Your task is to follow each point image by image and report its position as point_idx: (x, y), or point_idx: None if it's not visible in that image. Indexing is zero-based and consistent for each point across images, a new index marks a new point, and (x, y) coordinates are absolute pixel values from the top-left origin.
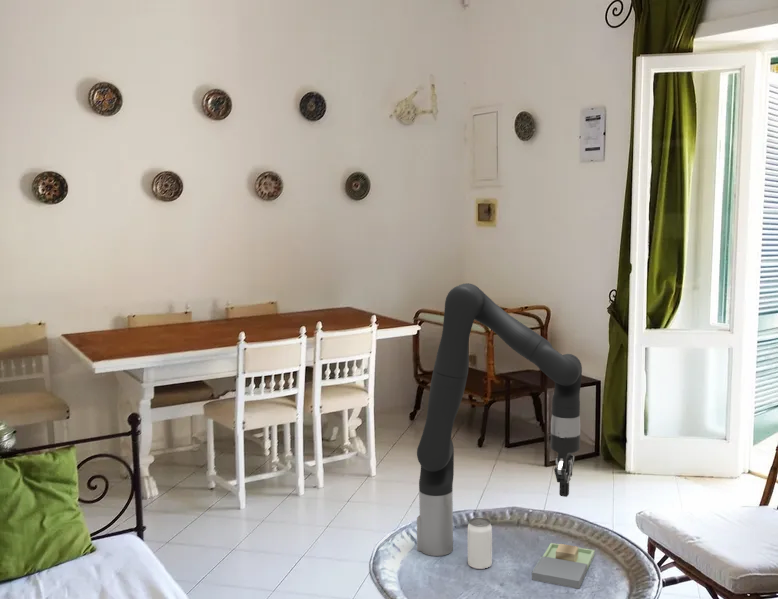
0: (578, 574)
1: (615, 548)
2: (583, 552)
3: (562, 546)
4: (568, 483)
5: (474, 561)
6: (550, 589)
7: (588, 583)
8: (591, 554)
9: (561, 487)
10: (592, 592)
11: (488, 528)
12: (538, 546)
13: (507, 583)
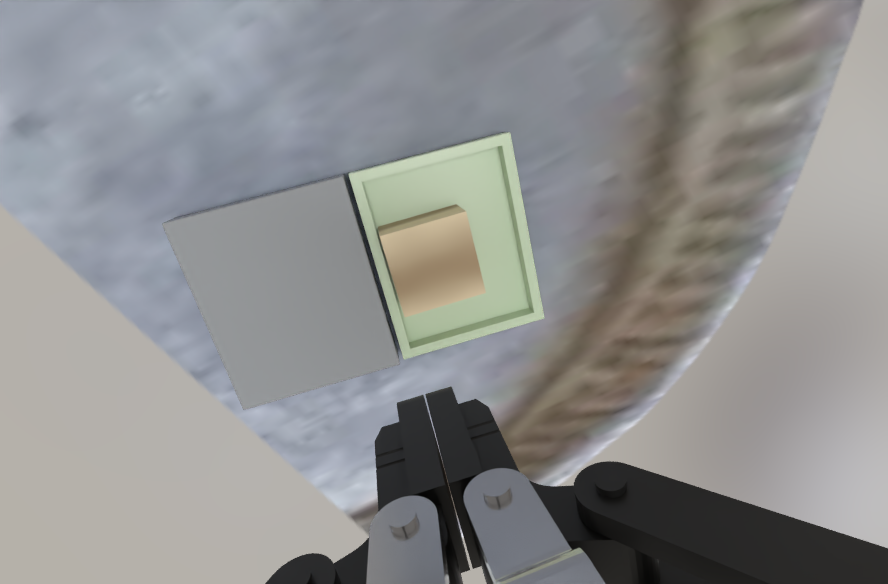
0: (294, 381)
1: (632, 340)
2: (523, 277)
3: (446, 236)
4: (461, 564)
5: None
6: (162, 318)
7: (313, 398)
8: (501, 327)
9: (382, 493)
10: (261, 438)
11: None
12: (486, 74)
13: (56, 145)
